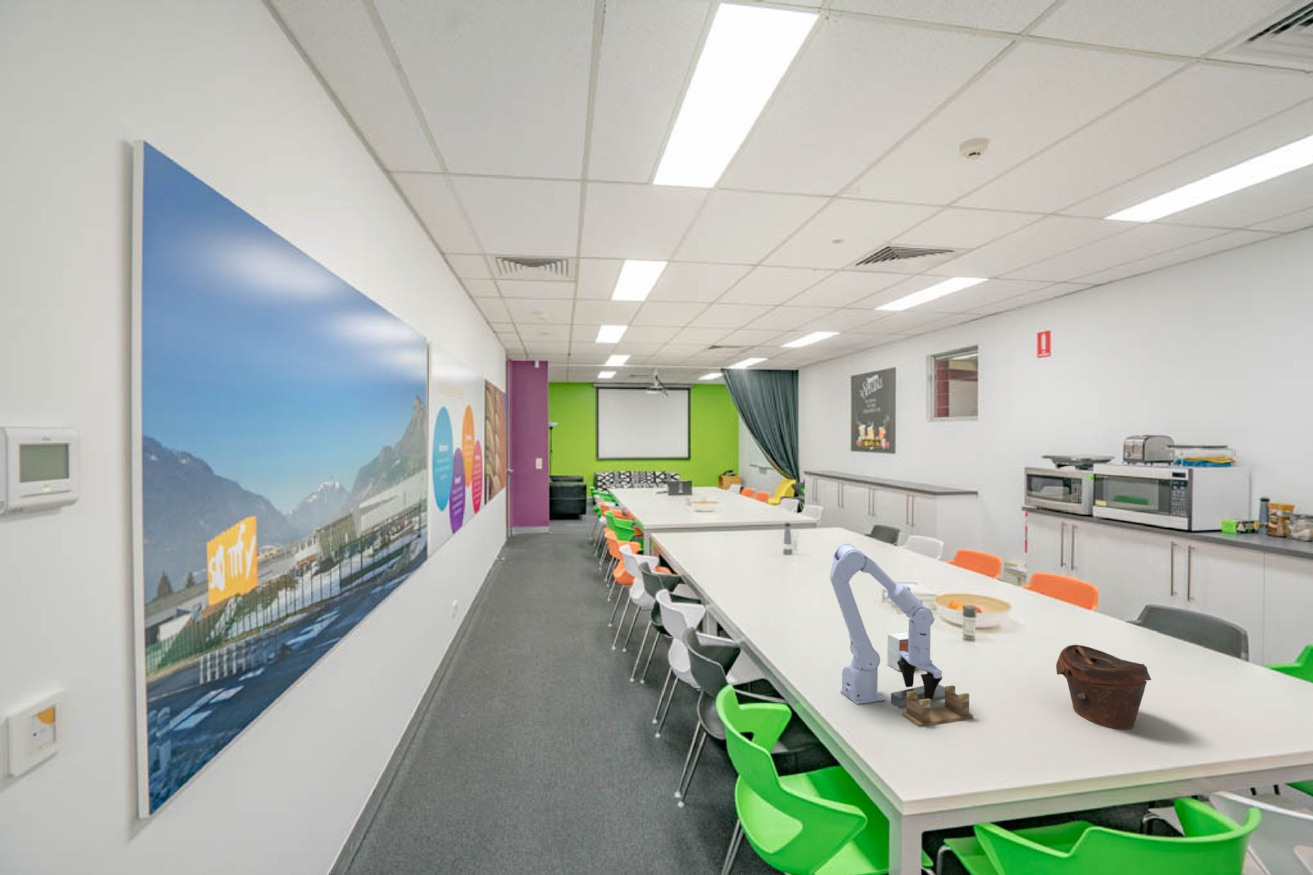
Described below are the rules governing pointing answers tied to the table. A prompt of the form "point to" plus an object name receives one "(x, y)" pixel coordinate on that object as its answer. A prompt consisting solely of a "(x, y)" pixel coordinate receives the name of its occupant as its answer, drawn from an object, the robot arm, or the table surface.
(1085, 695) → the case
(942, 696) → the rail
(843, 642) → the table surface
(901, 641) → the small box
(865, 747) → the table surface
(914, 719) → the rack
